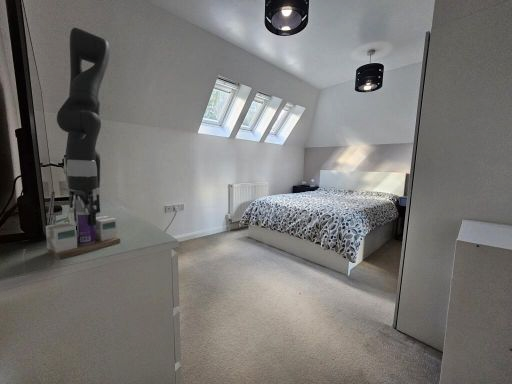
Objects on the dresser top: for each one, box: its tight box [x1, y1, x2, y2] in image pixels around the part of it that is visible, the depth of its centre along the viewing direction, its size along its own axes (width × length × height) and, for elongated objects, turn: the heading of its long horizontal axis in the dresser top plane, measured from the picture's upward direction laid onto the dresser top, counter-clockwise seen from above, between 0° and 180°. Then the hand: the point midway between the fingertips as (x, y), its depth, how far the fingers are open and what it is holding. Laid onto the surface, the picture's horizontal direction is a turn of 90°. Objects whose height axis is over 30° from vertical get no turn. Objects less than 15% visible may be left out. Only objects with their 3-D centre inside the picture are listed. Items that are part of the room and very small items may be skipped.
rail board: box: [45, 215, 121, 260], centre depth 71 cm, size 9×17×8 cm, turn 152°
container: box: [76, 199, 95, 245], centre depth 71 cm, size 5×5×15 cm
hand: (85, 223), depth 71 cm, fingers open, 8 cm apart
